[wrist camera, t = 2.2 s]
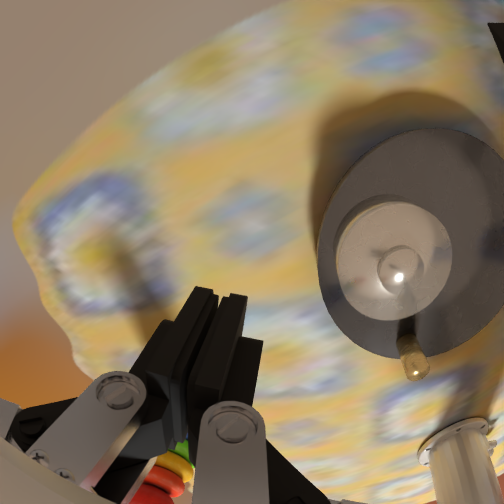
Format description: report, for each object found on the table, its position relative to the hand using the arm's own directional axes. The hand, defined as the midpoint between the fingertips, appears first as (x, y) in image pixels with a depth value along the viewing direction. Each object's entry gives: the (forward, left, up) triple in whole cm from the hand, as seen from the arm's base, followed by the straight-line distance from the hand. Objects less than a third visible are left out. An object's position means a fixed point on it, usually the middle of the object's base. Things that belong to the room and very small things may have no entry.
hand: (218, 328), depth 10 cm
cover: (-9, 0, -13) cm, 16 cm away
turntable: (-14, 0, -14) cm, 20 cm away
